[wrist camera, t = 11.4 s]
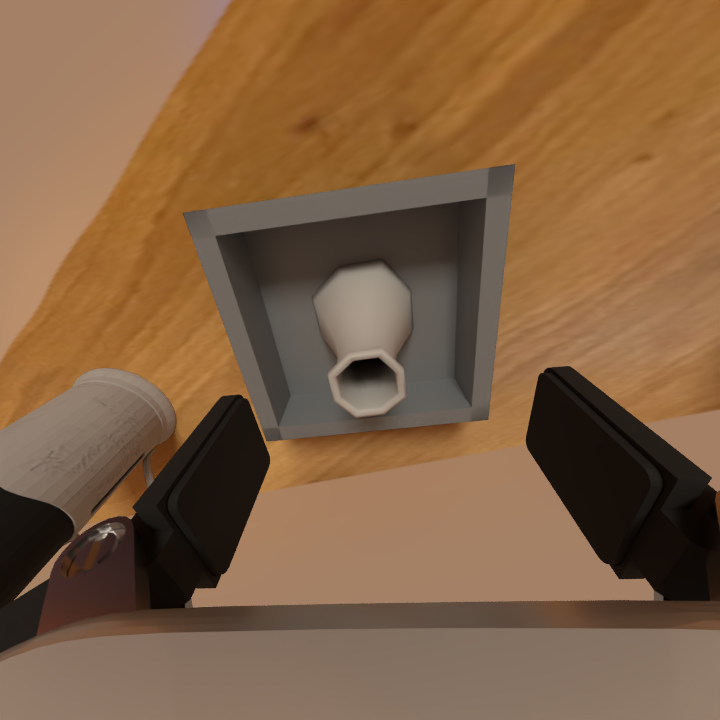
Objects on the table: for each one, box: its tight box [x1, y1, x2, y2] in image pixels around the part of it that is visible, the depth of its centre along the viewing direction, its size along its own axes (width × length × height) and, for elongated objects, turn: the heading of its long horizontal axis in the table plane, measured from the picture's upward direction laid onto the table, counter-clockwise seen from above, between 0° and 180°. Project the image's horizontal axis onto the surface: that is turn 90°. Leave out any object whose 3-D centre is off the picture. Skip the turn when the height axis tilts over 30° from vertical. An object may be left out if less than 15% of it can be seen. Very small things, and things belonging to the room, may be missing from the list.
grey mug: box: [0, 368, 176, 609], centre depth 20 cm, size 9×14×15 cm, turn 38°
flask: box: [312, 259, 414, 418], centre depth 16 cm, size 7×7×10 cm
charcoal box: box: [183, 164, 515, 441], centre depth 19 cm, size 16×15×5 cm
